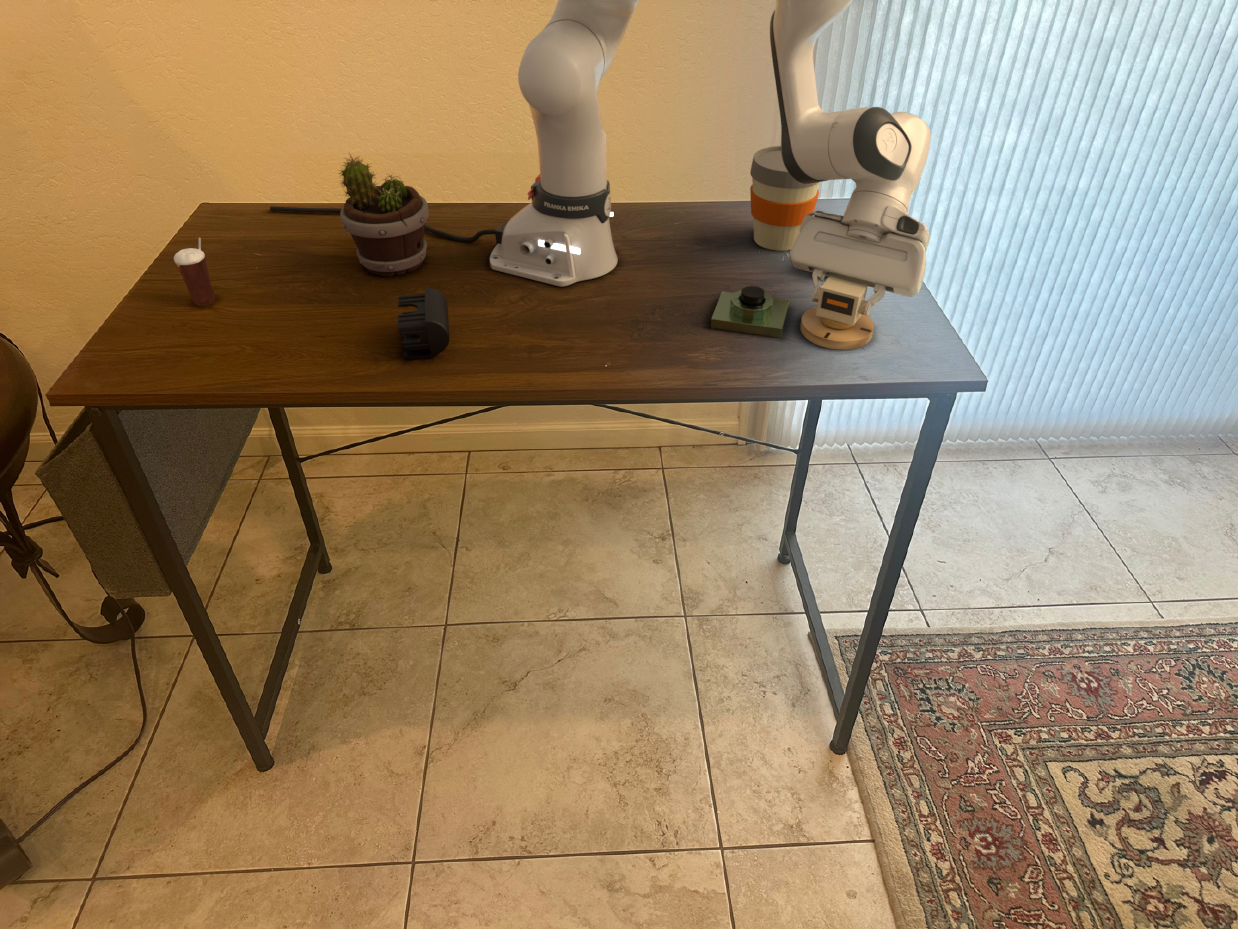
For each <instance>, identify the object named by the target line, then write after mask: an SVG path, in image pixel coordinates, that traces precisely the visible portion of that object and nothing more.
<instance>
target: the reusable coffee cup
mask: <svg viewBox="0 0 1238 929" xmlns="http://www.w3.org/2000/svg"><path fill="white" fill-rule="evenodd" d="M751 161H752V162H751V166H750V177H751V178H752V180H751V182H752V184H751V185H750V188H749V189H750V190H749V193H750V195H749V196H750V214H751V216H752V217H753V241H754V242H755V243H756V244H757V245H758V246H760V247H762V248H764V249H767V250H772V251H778V252H779V251H781V252H782V251H783V252H785V251H791V249H792V247H793V244H794V242H795V240H796V239H797V237H798V235H799V233H800V226H801V224H802V221H803V219H804V217H805V216H806V215H808V214H809V213H814V212H815V208H816V205H817V201H818V199H819V195H820V191H819V186H820V183H821V182H817V183H811V184H803V183H800V182H798V181H797V180H795V179H794V178H793V177H792V176H791V175H790V173H789V172H788V171H787V169H786V167H785V165H784V163H783V160H782V155H781V145H775V146H769V147H764V148H761V149H759V150H757V151H756V152H755V153H754V154H753V157H752V160H751ZM812 216H814V215H812Z"/></svg>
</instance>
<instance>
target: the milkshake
mask: <svg viewBox="0 0 1238 929" xmlns="http://www.w3.org/2000/svg"><path fill="white" fill-rule="evenodd" d="M173 261H174V263H175V266H176V267H177V269H178V271H179V273H180V275H181V278H182V280H183V282H184V284H185V287H186V288H187V291H188V293H189V295H190V297H191V300H192V301H193V304H195V305H196V306H197V307H208V306H211V305H213V304H214V303H216V295H215V294H216V293H215V290H214V286H213V282H212V279H211V276H210V272H209V268H208V264H207V260H206V255H205V252H204V251H203V250H202V238H201V237H198V248H193V247H189V248H183V249H181V250H179V251H178V252H176V253H175V254H174V255H173Z"/></svg>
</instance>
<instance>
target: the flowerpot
mask: <svg viewBox="0 0 1238 929" xmlns="http://www.w3.org/2000/svg"><path fill="white" fill-rule="evenodd" d="M348 155H349V158H347V157H344V159H345V161H343V165H341V167H340V169H339V172H337V174H339V177H338V178H340V179H342V180H340V182H339V185H340V187H342V189H345V191H344V193H343V194H342V195H345V196H344V197H347V199H346V200H345V203H344V204H343V206H342V208H340V209H341V213H339V214H340V215H339V216H340V222H341V226H342V228H343V229H344V231H346V233H349V234H350V237H351V238H352V240H353V242H354V244H355V246H356V248H357V249H356V256H357V258H358V261H359V264H361V266H363V267H364V268H366V270H367V271H368V272H370V273H372V274H374V275H379V276H381V277H393V276H402V275H405V274H406V273H407V272H409V273H411V272H413V271H415V270H417V269H418V268H420V266H422V265H423V262H424V260H425V259H426V256H427V250H428V249H427V248H428V244H427V241H426V240H425V238H424V237H425V230H424V229H425V225H426V223H427V222H428V219H429V216H430V211H429V205H428V201H427V200H426V199H425V197H423V196H422V195H420V193H419V191H418V190H417V189H415V188H414V187H413V186H410V185H405V184H404V183H405V181H403V180H402V179H401V177H400V175H397V176H395V175H394V176H393V174H389V173H387V176H385V178H384V179H382V181H384V182H383V183H382V184H381V185H379V183H376V181H377V180H375V181H373V180H374V179H376V175H377V173H375V172H374V171H375V170H372V169H370V168H372V166H371V163H368V164H364V163H363V161H364V158H363V159H362V158H360V157H361V155H358V156H355V157H353V156H352V154H351V153H350V152H348ZM359 158H360V159H359ZM342 167H344V168H342ZM389 178H390V179H389Z"/></svg>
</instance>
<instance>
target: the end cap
mask: <svg viewBox="0 0 1238 929" xmlns="http://www.w3.org/2000/svg"><path fill="white" fill-rule="evenodd" d="M397 306H398V308H409V307H412V308H416V310H411V311H403V312H401V314H400V313H399V314H397V330H398V335H399V336H400V337H402V336H403V340H402V341H401V342H400V346H401V350H402V353H403V358H404V360H406V361H415V360H425V359H432V358H435V357H437V356H439V355H440V354H441V353H442V352H443V351H445V350H446V349H447V347H448V345H449V343H450V323H449V321H450V320H449V303H448V300H447V298H446V296H445V295H444V294H443V293H442V292H441V291H439V290H437V289H435V288H432V287H424V293H419V294H410V295H409V294H408V295H398V299H397Z"/></svg>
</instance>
